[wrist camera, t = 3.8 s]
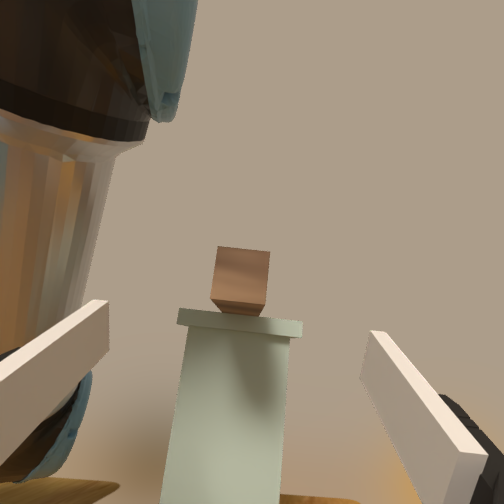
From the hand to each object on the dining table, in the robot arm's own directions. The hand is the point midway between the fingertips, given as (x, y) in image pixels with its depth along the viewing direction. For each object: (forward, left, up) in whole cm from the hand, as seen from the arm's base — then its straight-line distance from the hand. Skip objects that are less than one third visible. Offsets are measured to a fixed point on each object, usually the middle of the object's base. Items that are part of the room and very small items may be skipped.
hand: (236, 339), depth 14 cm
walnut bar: (-13, +9, +2) cm, 16 cm away
